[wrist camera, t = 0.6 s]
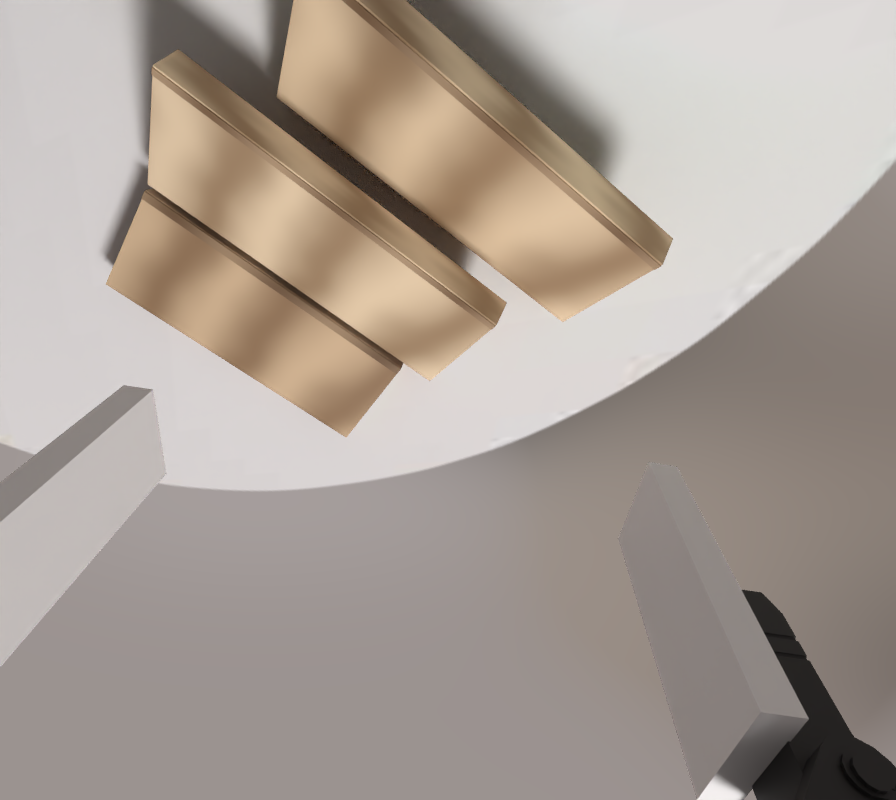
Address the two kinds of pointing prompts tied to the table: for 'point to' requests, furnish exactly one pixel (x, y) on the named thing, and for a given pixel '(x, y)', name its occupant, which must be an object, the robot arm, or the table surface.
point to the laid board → (249, 315)
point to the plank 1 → (309, 221)
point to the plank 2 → (464, 151)
